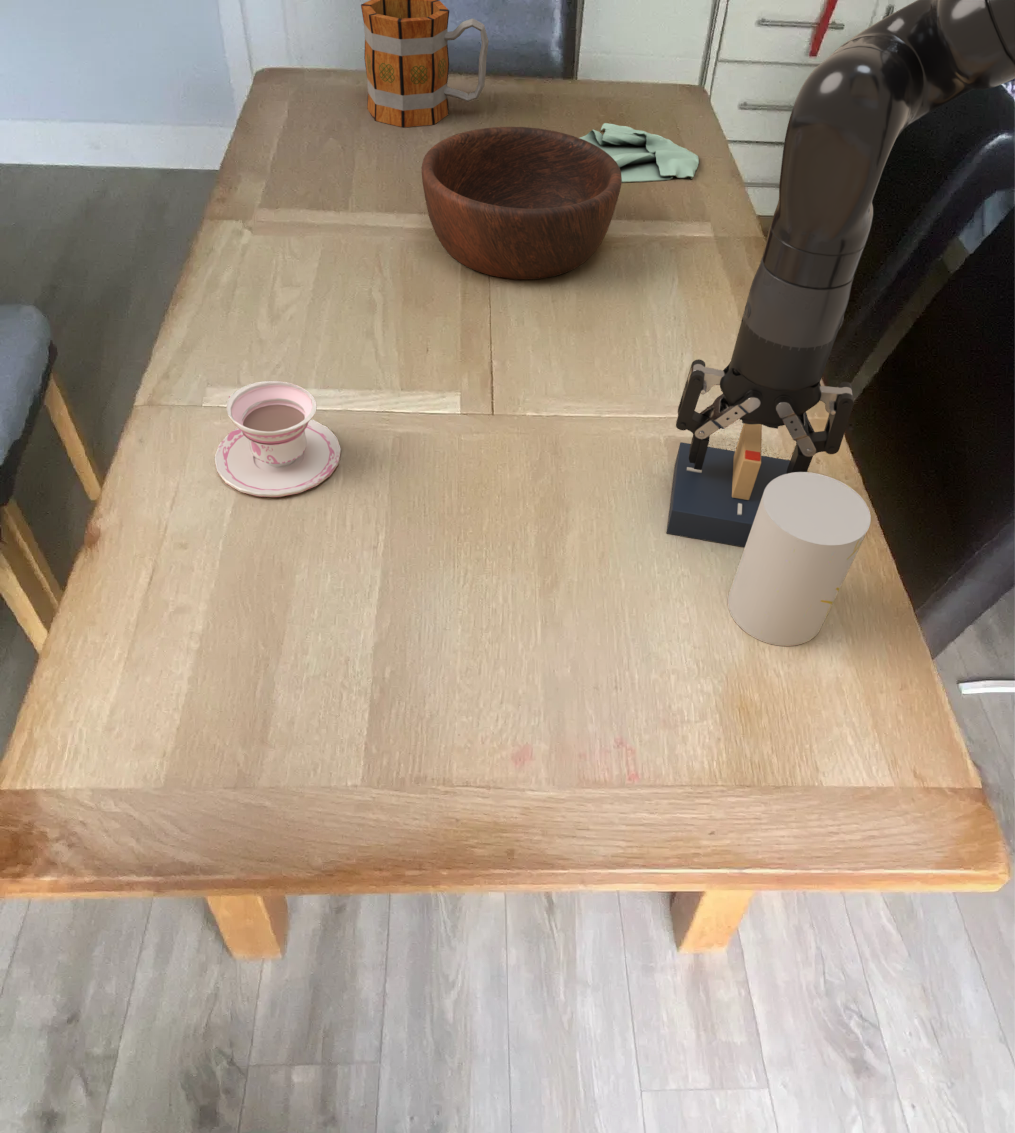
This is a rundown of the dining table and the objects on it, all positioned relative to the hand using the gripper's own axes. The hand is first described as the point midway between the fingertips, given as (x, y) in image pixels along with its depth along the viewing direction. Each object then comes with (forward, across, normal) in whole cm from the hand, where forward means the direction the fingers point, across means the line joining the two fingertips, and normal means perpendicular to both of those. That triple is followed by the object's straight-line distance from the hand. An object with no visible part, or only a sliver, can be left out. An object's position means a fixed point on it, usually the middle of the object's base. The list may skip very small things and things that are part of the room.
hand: (743, 471), depth 84 cm
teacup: (+4, +44, +5) cm, 45 cm away
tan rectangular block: (+1, 0, 0) cm, 1 cm away
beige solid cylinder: (+4, -4, +13) cm, 14 cm away
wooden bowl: (+4, +30, -44) cm, 53 cm away
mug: (+4, +53, -83) cm, 99 cm away
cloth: (+4, +19, -77) cm, 79 cm away
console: (+4, 0, +1) cm, 4 cm away
